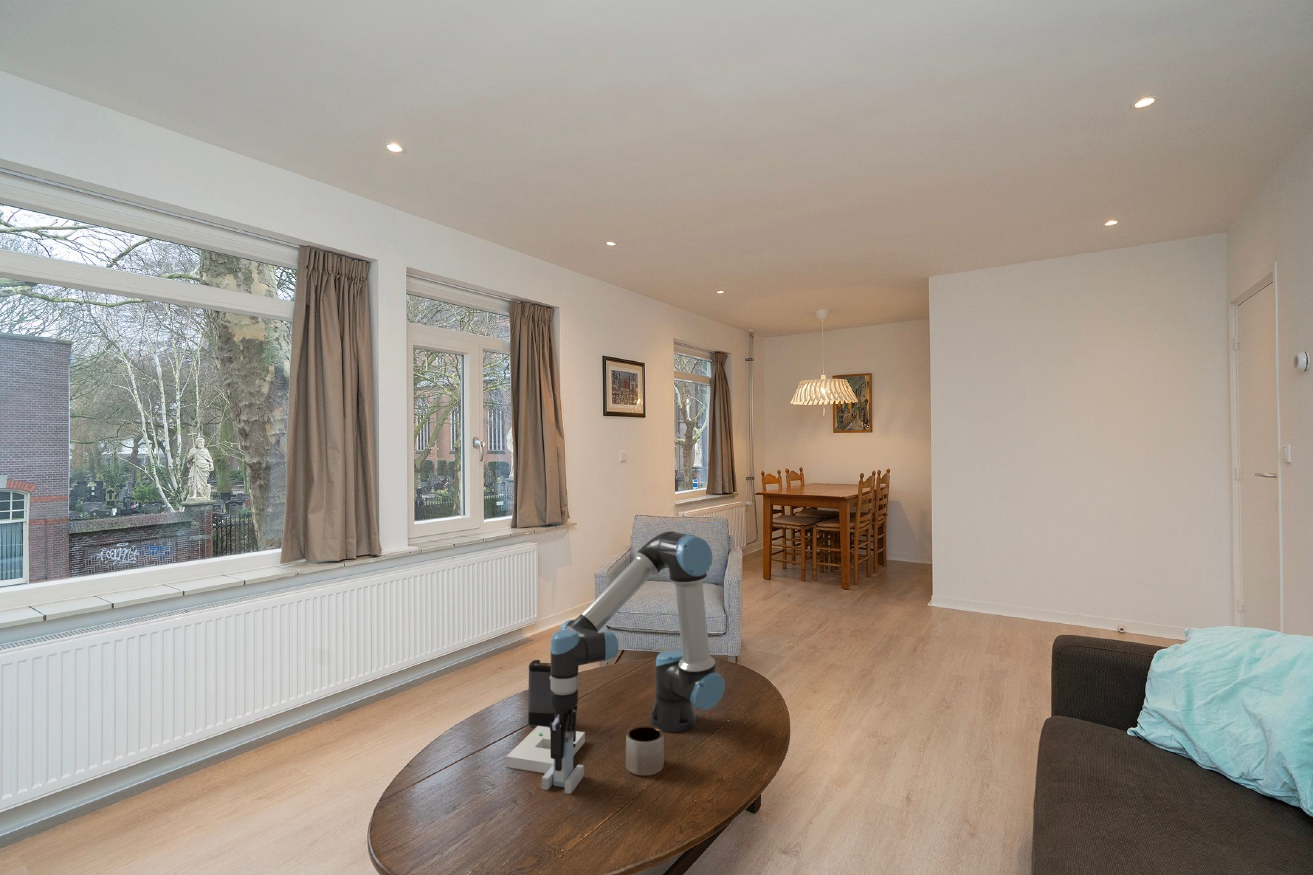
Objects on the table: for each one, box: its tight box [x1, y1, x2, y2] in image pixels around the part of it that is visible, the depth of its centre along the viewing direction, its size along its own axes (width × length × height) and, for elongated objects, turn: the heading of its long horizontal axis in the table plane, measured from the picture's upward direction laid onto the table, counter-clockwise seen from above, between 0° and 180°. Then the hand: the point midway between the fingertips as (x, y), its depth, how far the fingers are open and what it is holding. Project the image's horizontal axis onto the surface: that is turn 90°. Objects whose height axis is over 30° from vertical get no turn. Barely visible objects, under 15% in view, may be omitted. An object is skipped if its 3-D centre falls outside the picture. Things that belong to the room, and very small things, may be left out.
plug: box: [552, 731, 574, 788], centre depth 164 cm, size 4×4×13 cm
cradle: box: [541, 764, 585, 795], centre depth 164 cm, size 8×9×3 cm
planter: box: [625, 724, 665, 777], centre depth 173 cm, size 11×11×10 cm
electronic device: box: [527, 659, 555, 728], centre depth 200 cm, size 9×6×20 cm, turn 84°
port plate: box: [505, 726, 586, 774], centre depth 180 cm, size 16×20×3 cm
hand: (563, 776), depth 164 cm, fingers closed on plug, 4 cm apart
